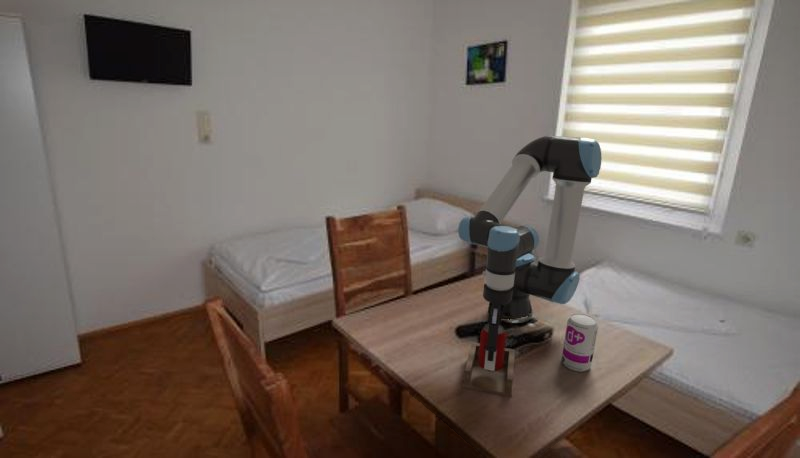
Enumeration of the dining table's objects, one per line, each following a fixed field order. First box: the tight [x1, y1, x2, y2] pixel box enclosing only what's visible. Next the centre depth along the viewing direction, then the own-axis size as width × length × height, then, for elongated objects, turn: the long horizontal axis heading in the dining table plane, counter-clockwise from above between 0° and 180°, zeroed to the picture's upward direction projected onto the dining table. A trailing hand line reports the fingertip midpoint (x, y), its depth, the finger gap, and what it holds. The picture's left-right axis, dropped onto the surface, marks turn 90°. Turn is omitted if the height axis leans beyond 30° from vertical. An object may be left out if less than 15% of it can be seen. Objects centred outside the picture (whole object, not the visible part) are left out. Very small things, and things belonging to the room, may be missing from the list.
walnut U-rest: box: [462, 342, 516, 398], centre depth 121 cm, size 15×13×5 cm
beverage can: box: [478, 323, 507, 372], centre depth 118 cm, size 7×7×12 cm
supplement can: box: [561, 313, 599, 372], centre depth 126 cm, size 8×8×15 cm
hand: (490, 361), depth 119 cm, fingers closed on beverage can, 7 cm apart
